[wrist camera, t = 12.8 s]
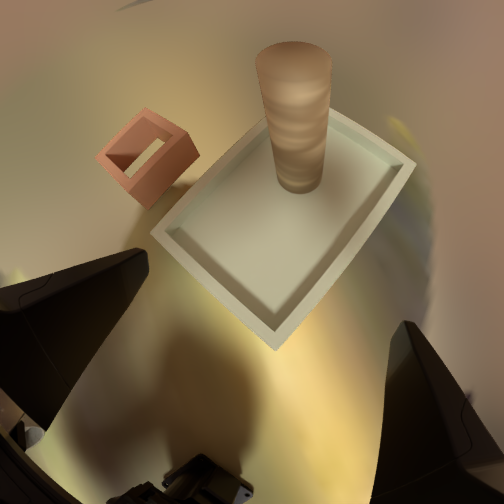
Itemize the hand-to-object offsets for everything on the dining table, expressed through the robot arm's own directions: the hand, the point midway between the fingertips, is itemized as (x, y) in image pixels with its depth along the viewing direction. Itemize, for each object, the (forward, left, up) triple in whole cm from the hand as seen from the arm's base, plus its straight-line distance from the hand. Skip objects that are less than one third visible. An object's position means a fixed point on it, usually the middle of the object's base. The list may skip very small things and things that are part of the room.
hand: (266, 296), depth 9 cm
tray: (+8, +5, -14) cm, 17 cm away
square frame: (+3, +20, -14) cm, 24 cm away
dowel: (+10, +6, -12) cm, 17 cm away
